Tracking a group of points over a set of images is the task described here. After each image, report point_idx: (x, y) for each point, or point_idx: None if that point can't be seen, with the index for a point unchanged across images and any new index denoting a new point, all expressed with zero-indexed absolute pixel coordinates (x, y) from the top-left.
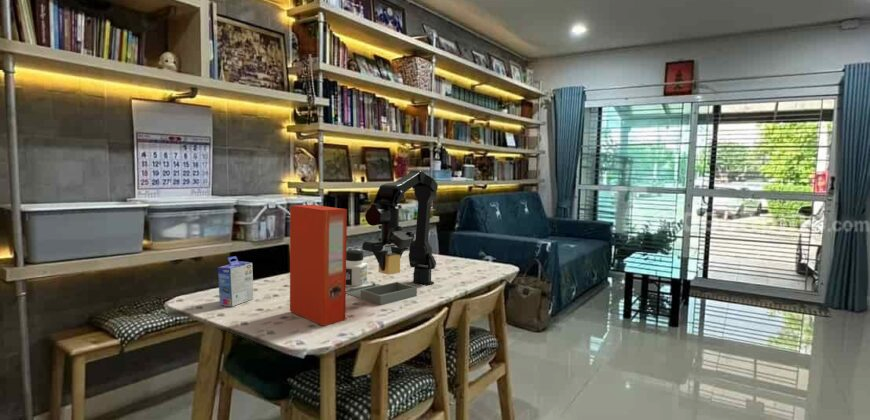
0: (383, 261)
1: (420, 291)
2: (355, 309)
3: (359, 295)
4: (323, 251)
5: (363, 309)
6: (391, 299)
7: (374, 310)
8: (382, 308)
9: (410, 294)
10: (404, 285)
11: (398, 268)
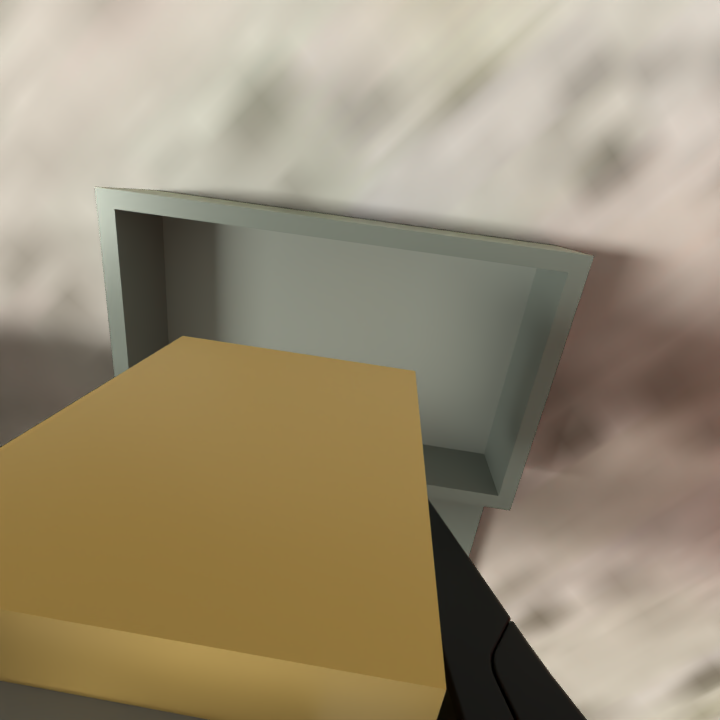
0: (495, 619)
1: (22, 279)
2: (703, 352)
3: (450, 508)
4: None
5: (676, 306)
6: (440, 231)
7: (660, 220)
8: (577, 206)
9: (209, 199)
10: (131, 345)
11: (178, 366)
